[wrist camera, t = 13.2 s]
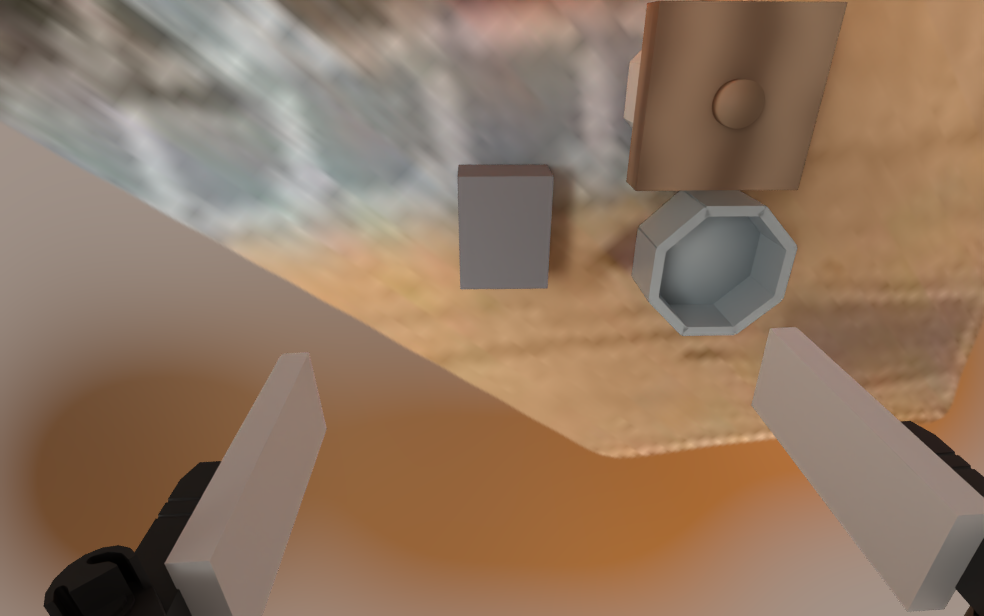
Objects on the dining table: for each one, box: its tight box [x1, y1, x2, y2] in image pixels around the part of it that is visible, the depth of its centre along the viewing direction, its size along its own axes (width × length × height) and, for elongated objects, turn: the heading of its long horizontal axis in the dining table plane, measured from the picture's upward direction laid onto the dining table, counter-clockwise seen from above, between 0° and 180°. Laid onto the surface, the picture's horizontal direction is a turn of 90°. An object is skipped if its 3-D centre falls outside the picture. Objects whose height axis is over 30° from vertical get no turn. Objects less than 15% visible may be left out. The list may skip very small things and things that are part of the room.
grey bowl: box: [632, 190, 798, 336], centre depth 44 cm, size 11×11×5 cm
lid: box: [626, 1, 847, 191], centre depth 34 cm, size 11×11×4 cm
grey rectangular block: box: [458, 165, 554, 289], centre depth 43 cm, size 7×9×4 cm
